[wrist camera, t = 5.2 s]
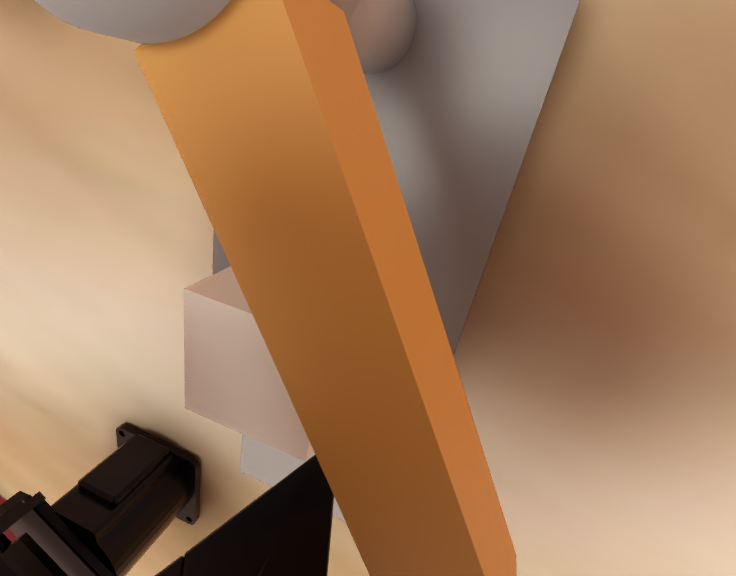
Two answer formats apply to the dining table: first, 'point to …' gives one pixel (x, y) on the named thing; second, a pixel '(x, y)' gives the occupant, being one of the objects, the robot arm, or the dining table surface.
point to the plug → (236, 368)
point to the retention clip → (324, 263)
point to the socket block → (456, 120)
